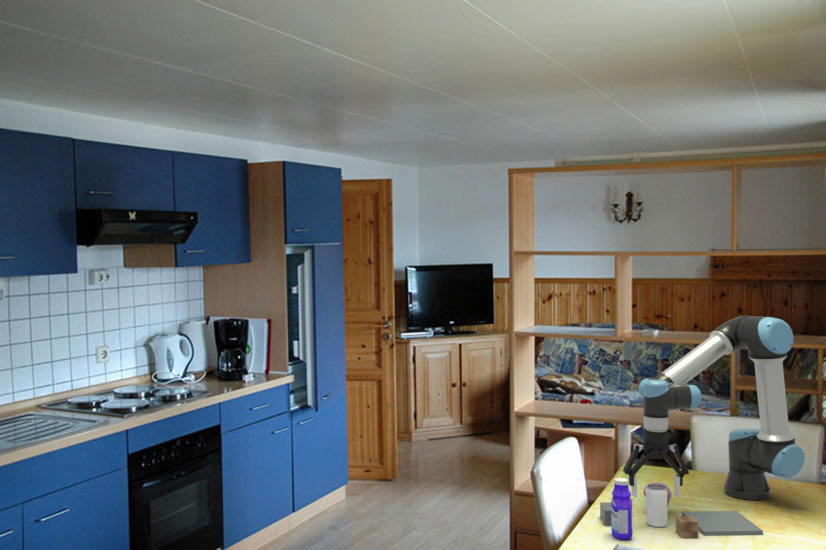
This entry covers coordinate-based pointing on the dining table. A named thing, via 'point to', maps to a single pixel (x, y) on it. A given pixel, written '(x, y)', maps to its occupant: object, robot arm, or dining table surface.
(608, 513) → the charcoal block
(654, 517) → the can
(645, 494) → the cupcake
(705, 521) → the board
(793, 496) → the dining table surface
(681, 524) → the walnut block
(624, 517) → the bottle
